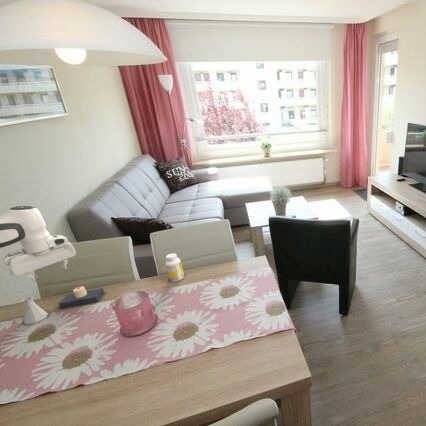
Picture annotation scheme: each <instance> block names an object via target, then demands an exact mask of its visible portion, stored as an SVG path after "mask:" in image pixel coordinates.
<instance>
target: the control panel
mask: <svg viewBox="0 0 426 426" xmlns="http://www.w3.org/2000/svg"><path fill="white" fill-rule="evenodd" d="M86 293H87V294H86V295H85V296H84V297H81V298H76V297H75V295H74V292H72V293H68V294H66V295H65V296H64V298H63V299H61V300H60V302H59V303H58V305H59V308H60V309H66V308H72V307H77V306H83V305H88V304H93V303H98V302H99V301H100V299H101V298H102V297H103V295H104V294H105V291H104V288H102V287H101V288H96V289H90V290H86Z"/></svg>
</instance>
